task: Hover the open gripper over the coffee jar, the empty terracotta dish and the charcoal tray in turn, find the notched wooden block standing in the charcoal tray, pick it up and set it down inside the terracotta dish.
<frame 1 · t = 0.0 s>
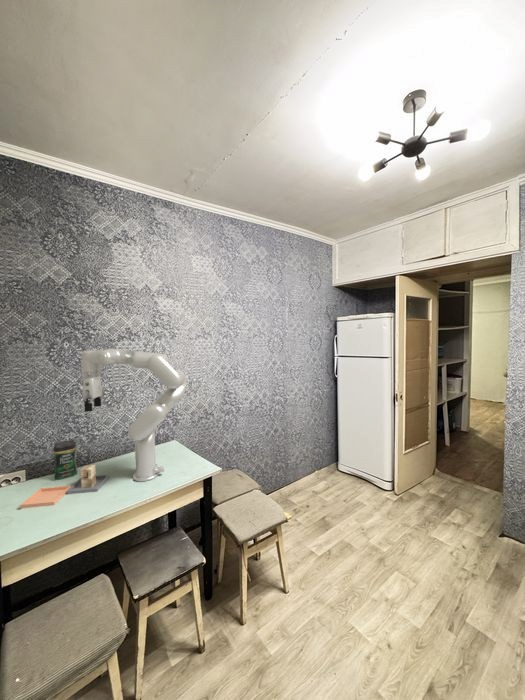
hand: (93, 408, 138), 37 cm above the table, tool pointing down, fingers open, 9 cm apart
notched wooden block: (89, 485, 134), point 1 cm above the table, touching charcoal tray
terracotta dish: (47, 499, 124), on the table
charcoal tray: (89, 486, 134), on the table
coffee jar: (66, 476, 145), on the table
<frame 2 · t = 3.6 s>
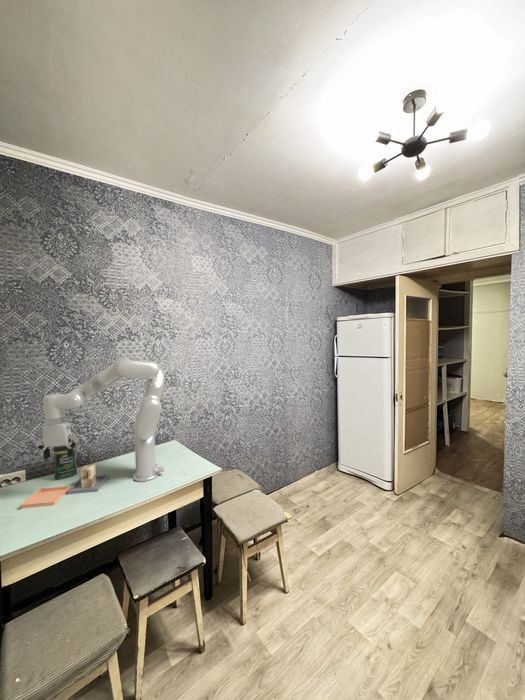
hand: (59, 457, 127), 18 cm above the table, tool pointing down, fingers open, 9 cm apart
nothing on the table moved.
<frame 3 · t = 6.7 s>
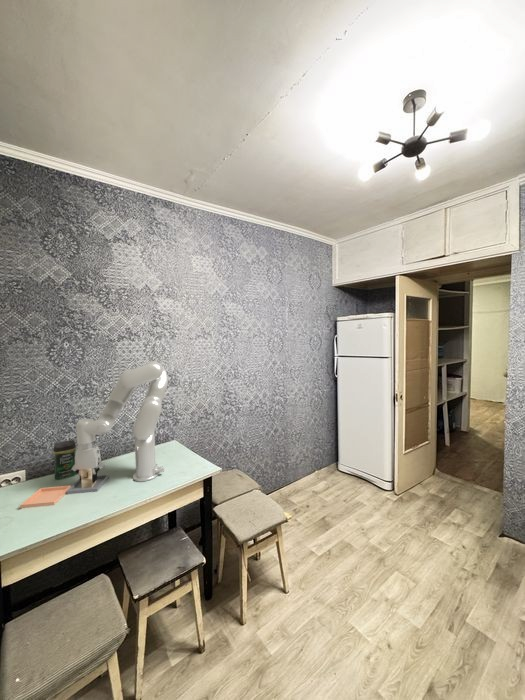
hand: (88, 481, 134), 3 cm above the table, tool pointing down, fingers closed on notched wooden block, 4 cm apart
notched wooden block: (89, 485, 134), point 1 cm above the table, touching charcoal tray, gripper
everything else where it was.
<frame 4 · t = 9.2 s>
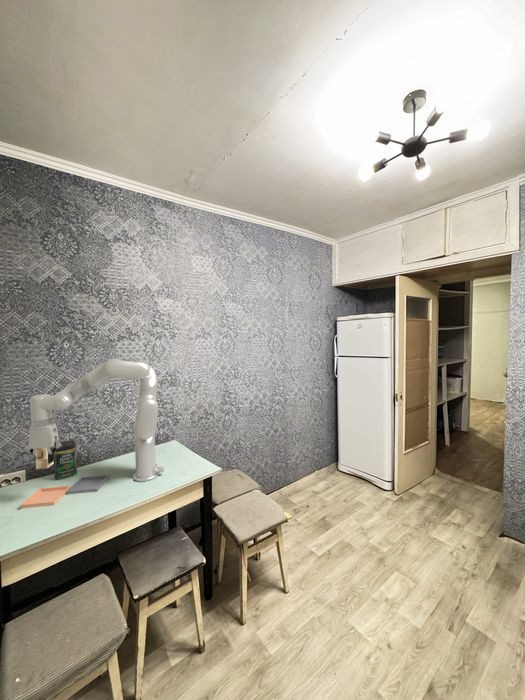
hand: (44, 462, 124), 17 cm above the table, tool pointing down, fingers closed on notched wooden block, 4 cm apart
notched wooden block: (45, 466, 124), point 15 cm above the table, touching gripper
everything else where it was.
when the fingers open (4 cm above the table, at t = 11.8 s): notched wooden block drops 2 cm, resting on terracotta dish.
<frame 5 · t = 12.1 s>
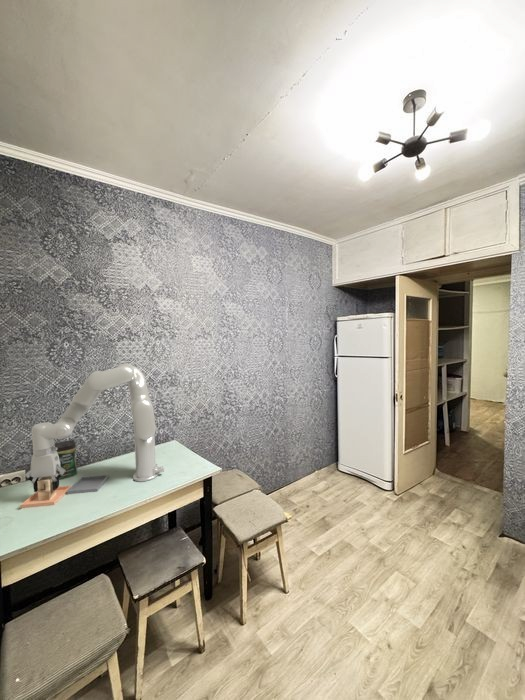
hand: (46, 489, 124), 5 cm above the table, tool pointing down, fingers open, 7 cm apart
notched wooden block: (47, 497, 124), point 1 cm above the table, touching terracotta dish
everything else where it was.
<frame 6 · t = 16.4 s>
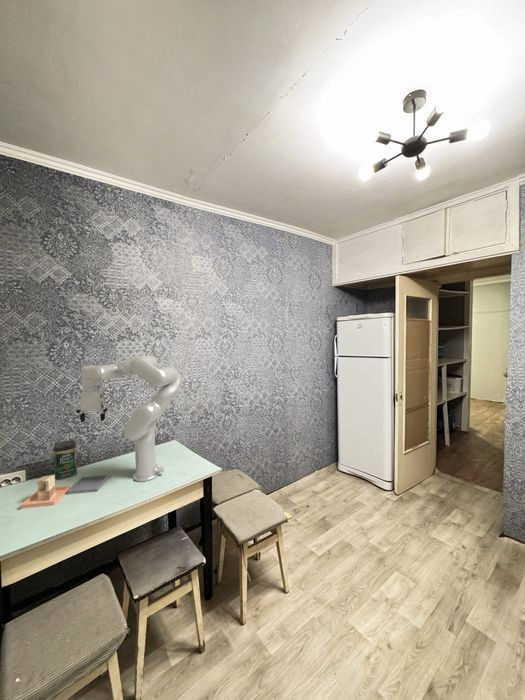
hand: (93, 421, 146), 28 cm above the table, tool pointing down, fingers open, 9 cm apart
nothing on the table moved.
at the end: notched wooden block inside the target area on the terracotta dish (0.1 cm from its centre), point 0.6 cm above the terracotta dish's base; notched wooden block tilted 0°; the gripper is holding nothing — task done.
